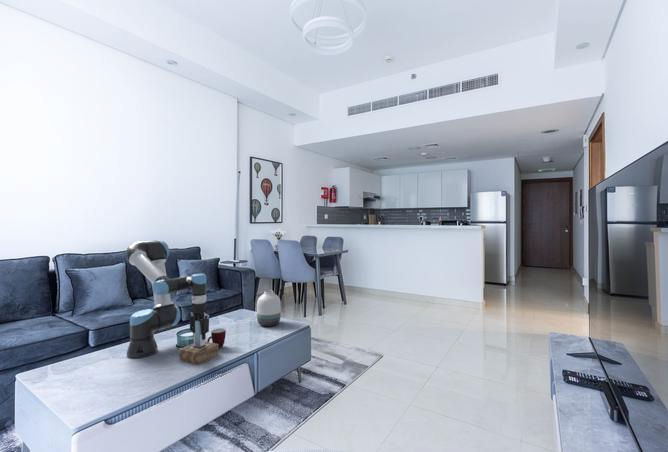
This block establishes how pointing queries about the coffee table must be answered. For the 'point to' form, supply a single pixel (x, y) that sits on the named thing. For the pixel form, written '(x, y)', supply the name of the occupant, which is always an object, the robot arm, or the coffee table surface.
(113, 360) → the coffee table surface
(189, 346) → the socket block
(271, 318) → the vase
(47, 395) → the coffee table surface
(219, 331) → the mug
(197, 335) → the peg
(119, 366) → the coffee table surface
